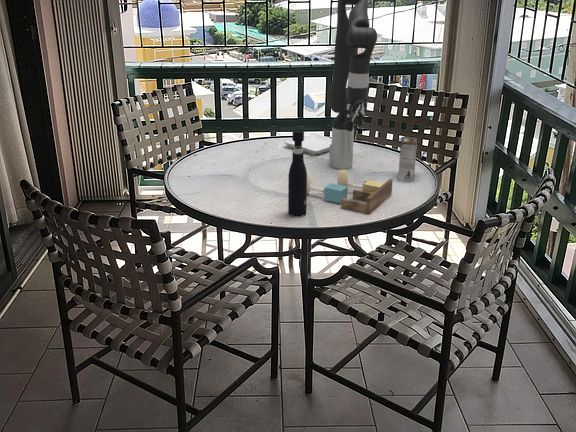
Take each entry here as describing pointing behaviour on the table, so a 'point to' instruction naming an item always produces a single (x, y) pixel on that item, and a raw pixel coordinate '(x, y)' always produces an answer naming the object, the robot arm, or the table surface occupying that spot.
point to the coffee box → (407, 158)
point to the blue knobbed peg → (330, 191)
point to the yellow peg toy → (367, 186)
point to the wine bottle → (297, 178)
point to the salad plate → (313, 144)
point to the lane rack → (368, 199)
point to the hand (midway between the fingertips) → (354, 128)
